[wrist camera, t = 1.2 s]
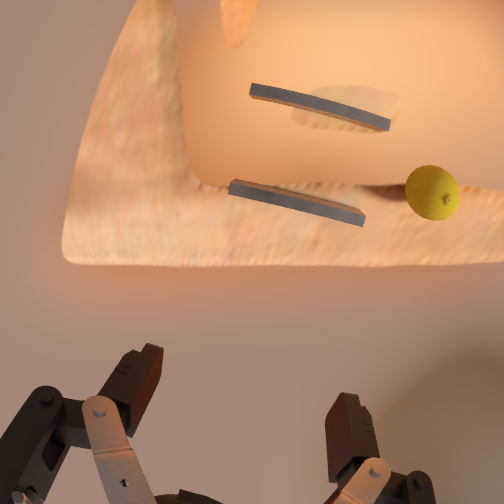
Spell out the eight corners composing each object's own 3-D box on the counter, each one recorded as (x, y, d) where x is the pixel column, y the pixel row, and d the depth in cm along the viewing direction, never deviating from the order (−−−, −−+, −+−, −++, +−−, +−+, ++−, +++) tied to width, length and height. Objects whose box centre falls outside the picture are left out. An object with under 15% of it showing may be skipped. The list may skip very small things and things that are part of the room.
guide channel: (254, 87, 30) (251, 82, 27) (382, 121, 30) (391, 120, 27) (232, 189, 34) (228, 194, 31) (356, 219, 34) (362, 227, 31)
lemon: (433, 159, 30) (469, 166, 23) (439, 205, 32) (473, 224, 24) (391, 165, 31) (420, 174, 24) (399, 214, 33) (426, 235, 25)
